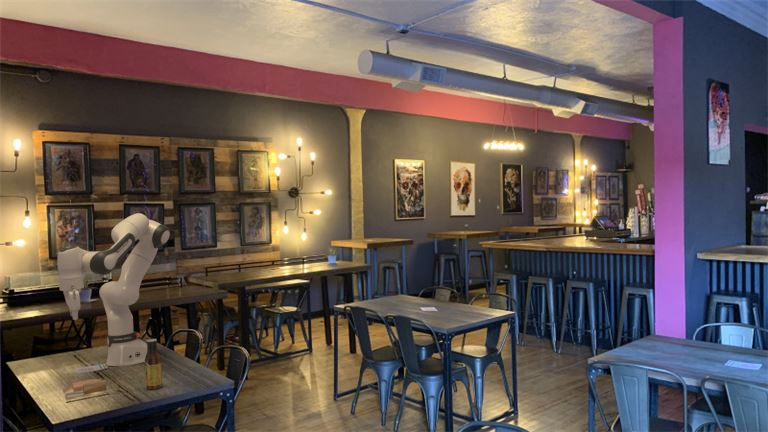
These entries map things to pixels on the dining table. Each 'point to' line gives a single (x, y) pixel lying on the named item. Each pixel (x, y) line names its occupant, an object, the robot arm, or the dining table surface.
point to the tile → (80, 384)
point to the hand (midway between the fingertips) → (74, 317)
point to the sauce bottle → (153, 366)
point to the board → (69, 389)
